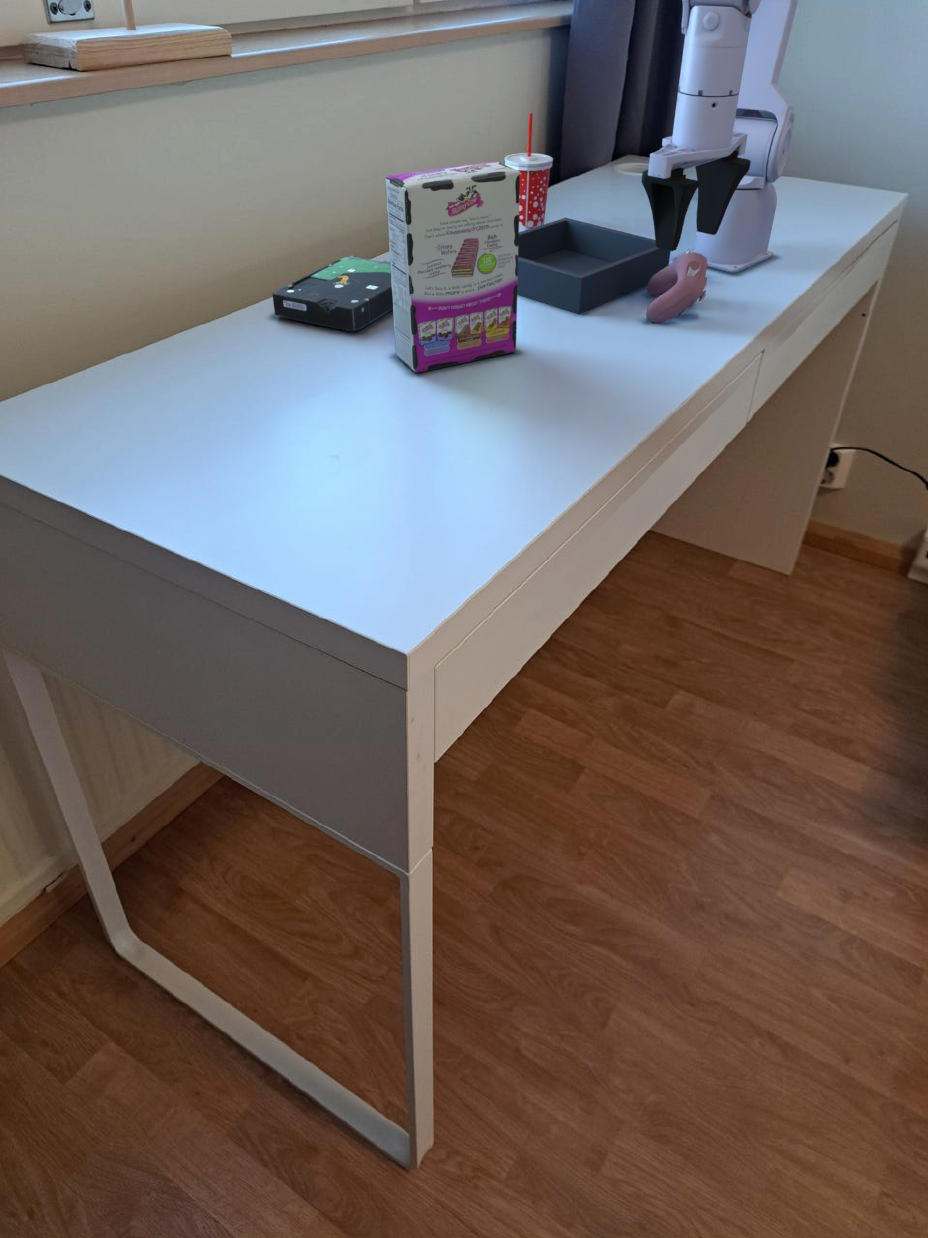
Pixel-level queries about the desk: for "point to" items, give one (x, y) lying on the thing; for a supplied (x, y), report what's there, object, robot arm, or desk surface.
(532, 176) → the beverage cup
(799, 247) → the desk surface
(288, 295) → the disk drive
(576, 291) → the bin
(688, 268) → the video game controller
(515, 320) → the candy bar box
